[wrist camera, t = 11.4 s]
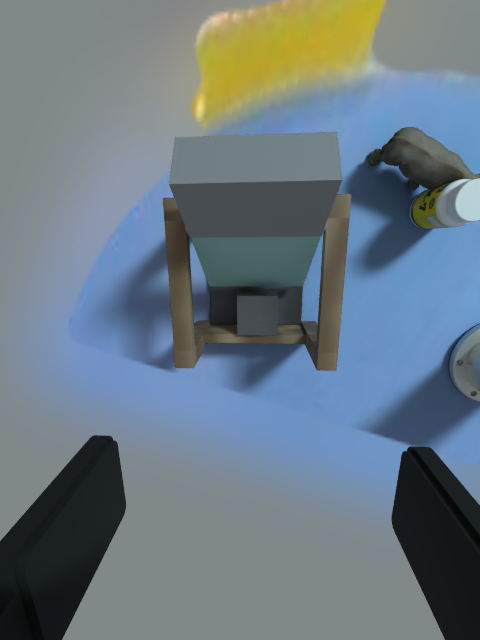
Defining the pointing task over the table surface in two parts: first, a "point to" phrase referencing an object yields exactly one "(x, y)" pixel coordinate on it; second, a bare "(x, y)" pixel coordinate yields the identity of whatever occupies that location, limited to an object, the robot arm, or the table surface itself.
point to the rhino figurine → (422, 159)
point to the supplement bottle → (447, 205)
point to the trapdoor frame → (224, 298)
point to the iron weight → (257, 312)
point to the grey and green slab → (256, 203)
